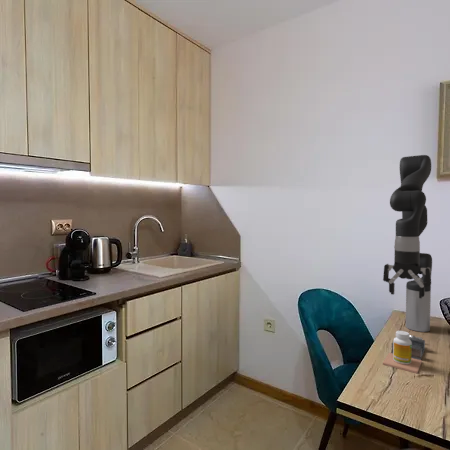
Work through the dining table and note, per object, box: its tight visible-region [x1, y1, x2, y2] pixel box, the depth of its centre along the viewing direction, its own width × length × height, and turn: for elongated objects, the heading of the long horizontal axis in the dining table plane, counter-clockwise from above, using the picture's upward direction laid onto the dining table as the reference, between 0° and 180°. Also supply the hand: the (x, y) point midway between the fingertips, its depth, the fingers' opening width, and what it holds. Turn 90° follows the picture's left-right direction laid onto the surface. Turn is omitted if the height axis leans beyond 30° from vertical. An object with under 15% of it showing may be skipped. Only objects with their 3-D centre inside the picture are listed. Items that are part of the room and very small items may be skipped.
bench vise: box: [391, 334, 426, 360], centre depth 120 cm, size 18×9×4 cm, turn 142°
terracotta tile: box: [382, 352, 423, 374], centre depth 108 cm, size 10×10×1 cm
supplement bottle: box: [392, 330, 412, 364], centre depth 108 cm, size 5×5×10 cm
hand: (406, 295), depth 111 cm, fingers open, 8 cm apart
